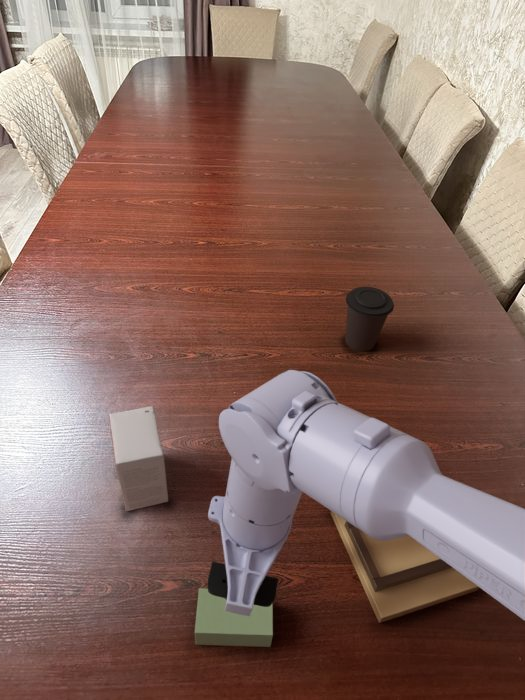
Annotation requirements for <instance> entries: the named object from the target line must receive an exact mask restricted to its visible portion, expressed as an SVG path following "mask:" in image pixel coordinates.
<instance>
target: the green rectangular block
mask: <svg viewBox="0 0 525 700" xmlns="http://www.w3.org/2000/svg"><path fill="white" fill-rule="evenodd" d="M197 593H198V594H197V603H196V606H197V607H196V614H195V615H196V616H195V626H194V643H195V645H196V646H225V647H227V646H228V647H255V648H256V647H258V648H259V647H261V648H271V646H272V641H273V637H274V602H273V603H272V604H271V606H269V607H262V606H258V605H253V609H252V611H251V614H250V616H245V615H240V614H236V613H232V612H228V611H225V606H226V601H227V600H226V599H225V598H222V597H218V596H214V595H212V594H210V593H209V592H208V588H205V587H204V588H203V587H201V588H198V592H197Z"/></svg>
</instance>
